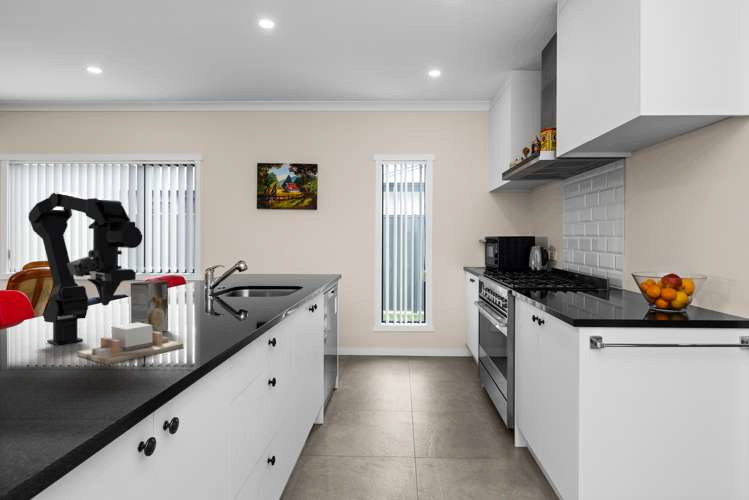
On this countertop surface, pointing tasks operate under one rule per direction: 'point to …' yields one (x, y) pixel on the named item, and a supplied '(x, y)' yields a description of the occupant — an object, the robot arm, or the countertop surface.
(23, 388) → the countertop surface
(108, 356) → the rail board
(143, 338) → the block
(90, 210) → the robot arm
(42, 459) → the countertop surface
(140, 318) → the coffee box
